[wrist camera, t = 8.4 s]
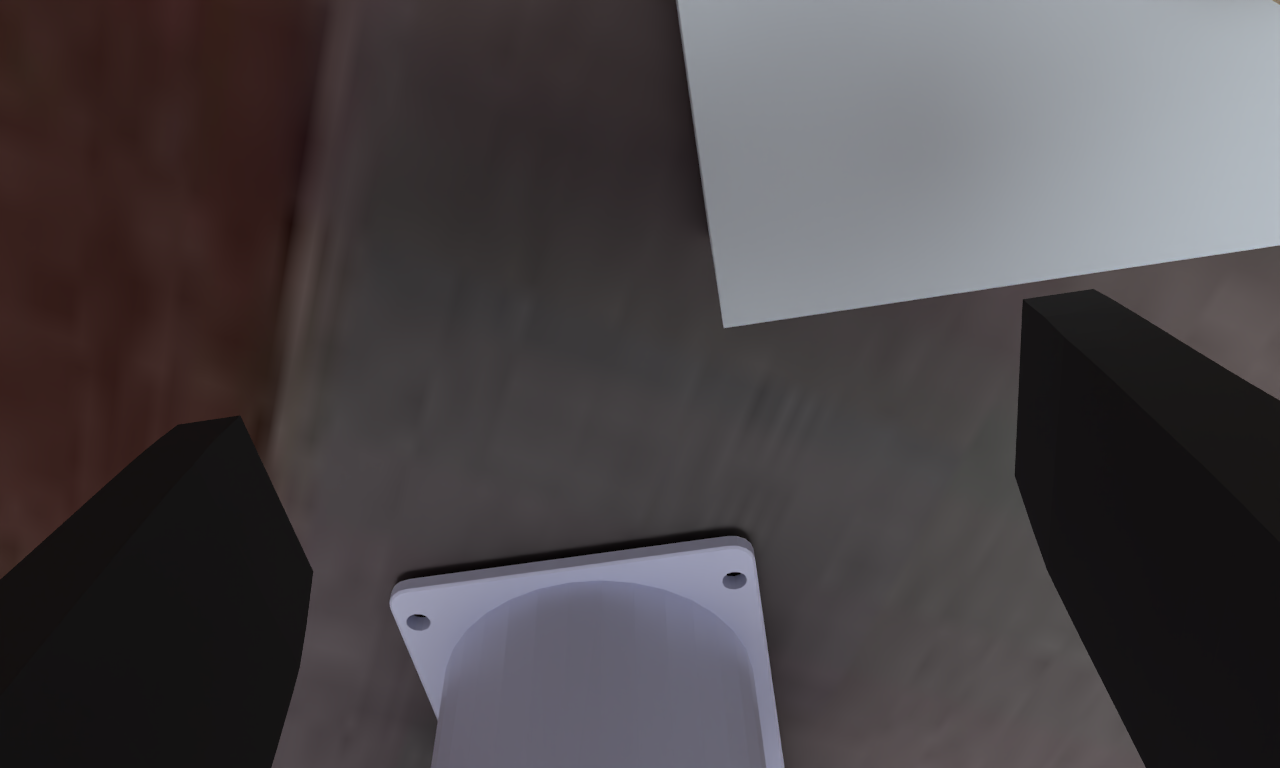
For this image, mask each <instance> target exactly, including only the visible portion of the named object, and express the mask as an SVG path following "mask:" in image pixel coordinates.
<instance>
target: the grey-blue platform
mask: <svg viewBox="0 0 1280 768" xmlns="http://www.w3.org/2000/svg"><path fill="white" fill-rule="evenodd" d="M676 5H677V12H678V19H679V27H680V34H681V41H682V48H683V55H684V62H685V69H686V76H687V83H688V90H689V97H690V104H691V111H692V118H693V125H694V133H695V140H696V147H697V154H698V161H699V168H700V175H701V182H702V189H703V196H704V203H705V210H706V217H707V224H708V232H709V238H710V245H711V251H712V257H713V264H714V270H715V276H716V282H717V289H718V295H719V301H720V307H721V314H722V320H723V326H724V328H729V327H735V326H742V325H749V324H755V323H762V322H769V321H775V320H782V319H789V318H795V317H802V316H809V315H816V314H822V313H829V312H836V311H842V310H849V309H856V308H862V307H869V306H876V305H883V304H889V303H896V302H903V301H909V300H916V299H923V298H929V297H936V296H943V295H950V294H956V293H963V292H970V291H976V290H983V289H990V288H996V287H1003V286H1010V285H1017V284H1023V283H1030V282H1037V281H1043V280H1050V279H1057V278H1063V277H1070V276H1077V275H1083V274H1090V273H1097V272H1104V271H1110V270H1117V269H1124V268H1130V267H1137V266H1144V265H1150V264H1157V263H1164V262H1171V261H1177V260H1184V259H1191V258H1197V257H1204V256H1211V255H1217V254H1224V253H1231V252H1238V251H1244V250H1251V249H1258V248H1264V247H1271V246H1278V245H1280V5H1279V4H1277V3H1276V2H1274V1H1273V0H676Z"/></svg>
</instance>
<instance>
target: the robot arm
mask: <svg viewBox="0 0 1280 768" xmlns="http://www.w3.org/2000/svg"><path fill="white" fill-rule="evenodd" d="M1015 477H1016V480H1017V483H1018V486H1019V490H1020V493H1021V496H1022V499H1023V502H1024V505H1025V508H1026V511H1027V514H1028V517H1029V520H1030V523H1031V526H1032V529H1033V532H1034V534H1035V537H1036V540H1037V543H1038V546H1039V548H1040V551H1041V554H1042V557H1043V560H1044V562H1045V565H1046V568H1047V571H1048V573H1049V575H1050V577H1051V579H1052V581H1053V583H1054V585H1055V587H1056V589H1057V591H1058V593H1059V595H1060V597H1061V599H1062V601H1063V603H1064V605H1065V607H1066V610H1067V612H1068V614H1069V616H1070V618H1071V620H1072V622H1073V624H1074V626H1075V628H1076V630H1077V632H1078V634H1079V636H1080V638H1081V640H1082V642H1083V644H1084V646H1085V648H1086V650H1087V652H1088V654H1089V656H1090V658H1091V660H1092V662H1093V664H1094V666H1095V668H1096V670H1097V672H1098V674H1099V675H1100V677H1101V679H1102V681H1103V683H1104V685H1105V687H1106V689H1107V691H1108V693H1109V695H1110V697H1111V699H1112V701H1113V703H1114V705H1115V707H1116V709H1117V711H1118V713H1119V715H1120V717H1121V719H1122V721H1123V723H1124V725H1125V727H1126V729H1127V731H1128V733H1129V735H1130V737H1131V739H1132V741H1133V743H1134V745H1135V747H1136V749H1137V751H1138V753H1139V755H1140V757H1141V759H1142V761H1143V763H1144V765H1145V767H1146V768H1280V400H1278V399H1276V398H1274V397H1273V396H1271V395H1269V394H1267V393H1266V392H1264V391H1262V390H1261V389H1259V388H1257V387H1256V386H1254V385H1252V384H1250V383H1249V382H1247V381H1245V380H1244V379H1242V378H1240V377H1239V376H1237V375H1235V374H1234V373H1232V372H1230V371H1229V370H1227V369H1225V368H1224V367H1222V366H1220V365H1219V364H1217V363H1215V362H1214V361H1212V360H1210V359H1209V358H1207V357H1205V356H1204V355H1202V354H1201V353H1199V352H1197V351H1196V350H1194V349H1192V348H1191V347H1189V346H1188V345H1186V344H1184V343H1183V342H1181V341H1179V340H1178V339H1176V338H1175V337H1173V336H1171V335H1170V334H1168V333H1167V332H1165V331H1163V330H1162V329H1160V328H1158V327H1157V326H1155V325H1154V324H1152V323H1150V322H1149V321H1147V320H1145V319H1144V318H1142V317H1141V316H1139V315H1137V314H1136V313H1134V312H1132V311H1131V310H1129V309H1127V308H1126V307H1124V306H1122V305H1121V304H1119V303H1117V302H1116V301H1114V300H1112V299H1110V298H1109V297H1107V296H1105V295H1103V294H1101V293H1100V292H1098V291H1096V290H1094V289H1091V290H1084V291H1077V292H1070V293H1064V294H1057V295H1050V296H1043V297H1037V298H1030V299H1023V307H1022V329H1021V351H1020V373H1019V395H1018V417H1017V439H1016V461H1015ZM731 572H740V573H741V574H739V575H736V576H727V574H728V573H731ZM312 576H313V570H312V568H311V566H310V564H309V562H308V559H307V557H306V555H305V553H304V551H303V549H302V547H301V544H300V542H299V540H298V538H297V536H296V534H295V532H294V530H293V527H292V525H291V523H290V521H289V519H288V517H287V515H286V512H285V510H284V508H283V506H282V504H281V502H280V500H279V497H278V495H277V493H276V491H275V489H274V487H273V485H272V483H271V480H270V478H269V476H268V474H267V472H266V470H265V468H264V465H263V463H262V461H261V459H260V457H259V455H258V453H257V450H256V448H255V446H254V444H253V442H252V440H251V438H250V436H249V433H248V431H247V429H246V427H245V425H244V423H243V421H242V418H241V416H234V417H227V418H221V419H214V420H207V421H200V422H194V423H187V424H180V425H177V426H176V427H174V428H173V429H172V430H170V431H169V432H168V433H166V434H165V435H164V436H162V437H161V438H160V439H159V440H157V441H156V442H155V443H154V444H152V445H151V446H150V447H149V448H148V449H146V450H145V451H144V452H143V453H142V454H140V455H139V456H138V457H137V458H136V459H135V460H133V461H132V462H131V463H130V464H129V465H128V466H127V467H125V468H124V469H123V470H122V471H121V472H120V473H119V474H117V475H116V476H115V477H114V478H113V479H112V480H111V481H110V482H109V483H107V484H106V485H105V486H104V487H103V488H102V489H101V490H100V491H98V492H97V493H96V494H95V495H94V496H93V497H92V498H91V499H90V500H89V501H87V502H86V503H85V504H84V505H83V506H82V507H81V508H80V509H79V510H78V511H76V512H75V513H74V514H73V515H72V516H71V517H70V518H69V519H67V520H66V521H65V522H64V523H63V524H62V525H61V526H60V527H59V528H57V529H56V530H55V531H54V532H53V533H52V534H51V535H50V536H49V537H47V538H46V539H45V540H44V541H43V542H42V543H41V544H40V545H39V546H37V547H36V548H35V549H34V550H33V551H32V552H31V553H30V554H28V555H27V556H26V557H25V558H24V559H23V560H22V561H21V562H20V563H18V564H17V565H16V566H15V567H14V568H13V569H12V570H11V571H10V572H8V573H7V574H6V575H5V576H4V577H3V578H2V579H0V768H271V767H272V763H273V760H274V756H275V753H276V750H277V746H278V743H279V739H280V736H281V732H282V729H283V725H284V722H285V718H286V715H287V711H288V708H289V704H290V701H291V697H292V694H293V690H294V686H295V683H296V679H297V675H298V672H299V668H300V662H301V656H302V650H303V643H304V637H305V631H306V625H307V617H308V609H309V601H310V593H311V584H312ZM389 603H390V609H391V611H392V614H393V616H394V618H395V621H396V623H397V625H398V628H399V630H400V633H401V635H402V637H403V640H404V642H405V644H406V647H407V649H408V651H409V654H410V656H411V659H412V661H413V663H414V666H415V668H416V670H417V673H418V675H419V677H420V680H421V682H422V685H423V687H424V689H425V692H426V694H427V696H428V699H429V701H430V703H431V706H432V708H433V711H434V713H435V715H436V718H437V720H438V724H437V730H436V737H435V743H434V750H433V757H432V763H431V768H785V767H784V760H783V753H782V746H781V739H780V732H779V725H778V718H777V711H776V704H775V697H774V690H773V682H772V675H771V668H770V661H769V654H768V647H767V640H766V633H765V626H764V619H763V612H762V605H761V598H760V590H759V583H758V576H757V569H756V562H755V555H754V549H753V547H752V545H751V543H750V542H749V541H747V540H746V539H745V538H742V537H739V536H724V537H716V538H709V539H701V540H694V541H687V542H679V543H672V544H664V545H657V546H650V547H642V548H635V549H627V550H620V551H613V552H605V553H598V554H590V555H583V556H576V557H568V558H561V559H554V560H546V561H539V562H531V563H524V564H517V565H509V566H502V567H494V568H487V569H480V570H472V571H465V572H457V573H450V574H443V575H435V576H428V577H421V578H413V579H407V580H404V581H400V582H399V583H398V584H396V585H395V586H394V588H393V590H392V592H391V597H390V601H389ZM414 614H421V615H424V616H426V617H417V616H415V615H414Z"/></svg>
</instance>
